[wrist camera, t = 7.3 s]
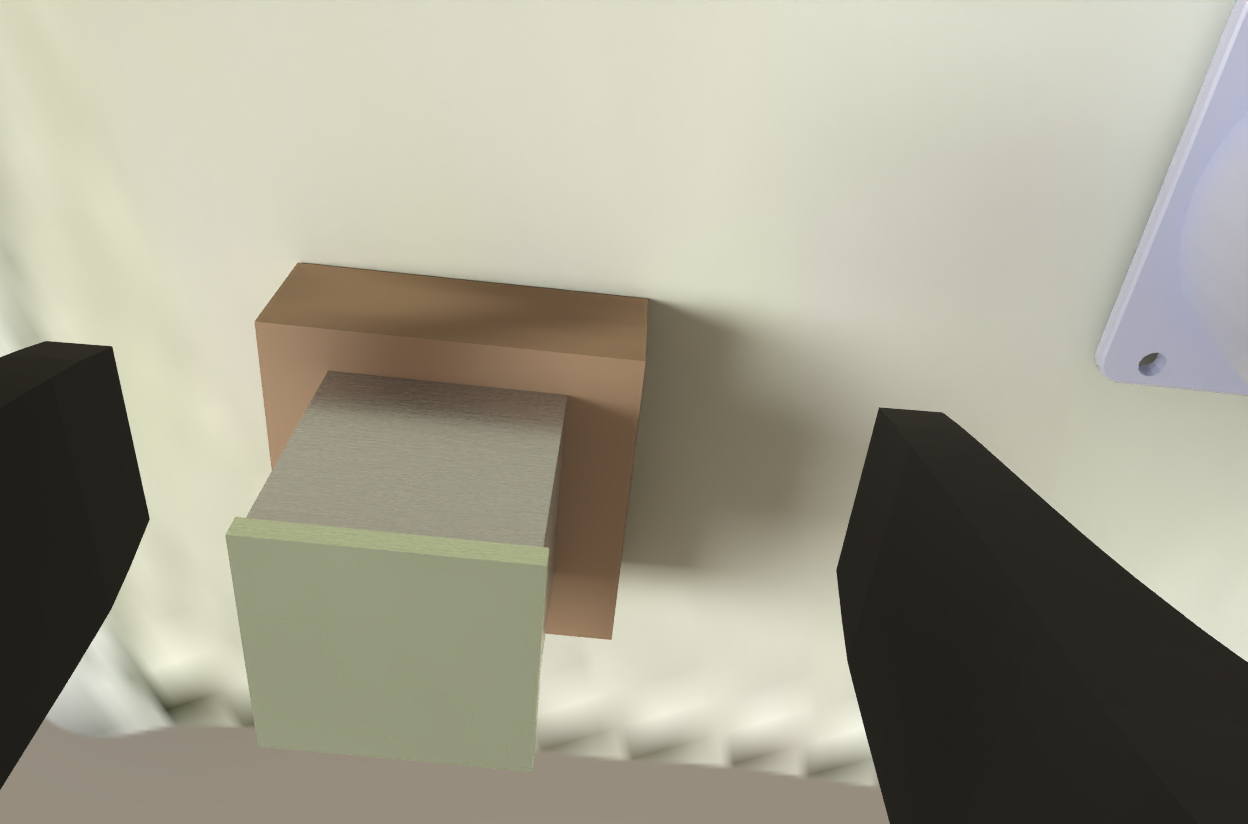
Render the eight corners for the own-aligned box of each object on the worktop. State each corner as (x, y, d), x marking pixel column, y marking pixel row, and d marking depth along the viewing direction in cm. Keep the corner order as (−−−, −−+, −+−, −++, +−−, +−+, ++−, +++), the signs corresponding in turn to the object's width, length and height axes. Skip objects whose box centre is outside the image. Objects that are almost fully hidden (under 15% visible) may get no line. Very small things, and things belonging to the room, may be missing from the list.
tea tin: (573, 390, 19) (546, 565, 15) (558, 578, 21) (531, 771, 17) (322, 365, 19) (225, 534, 15) (336, 556, 21) (258, 745, 17)
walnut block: (648, 298, 20) (645, 361, 18) (616, 562, 24) (611, 639, 22) (297, 262, 20) (254, 321, 18) (321, 534, 24) (287, 608, 22)
